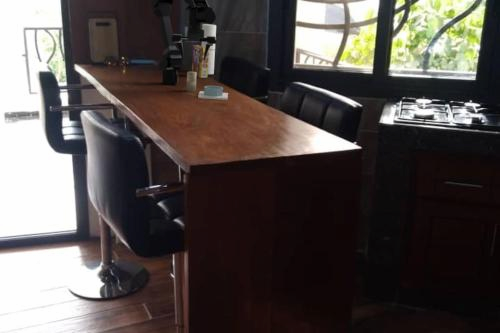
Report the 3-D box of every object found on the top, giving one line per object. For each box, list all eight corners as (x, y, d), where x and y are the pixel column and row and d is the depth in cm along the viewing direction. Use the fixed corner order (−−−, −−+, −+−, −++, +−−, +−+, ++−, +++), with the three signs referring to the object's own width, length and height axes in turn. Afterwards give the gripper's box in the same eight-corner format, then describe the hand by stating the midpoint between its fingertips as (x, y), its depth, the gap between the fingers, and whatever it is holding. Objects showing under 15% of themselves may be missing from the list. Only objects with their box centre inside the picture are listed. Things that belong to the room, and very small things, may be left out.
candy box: (208, 78, 279) (209, 47, 274) (201, 78, 276) (202, 47, 272) (198, 75, 285) (199, 45, 281) (191, 75, 283) (192, 45, 278)
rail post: (186, 91, 239) (186, 72, 236) (186, 89, 243) (187, 71, 240) (195, 91, 239) (196, 73, 237) (196, 90, 243) (196, 72, 240)
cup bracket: (197, 98, 226) (198, 88, 224) (199, 92, 237) (200, 84, 236) (227, 100, 226) (227, 90, 225) (227, 94, 238) (228, 86, 236)
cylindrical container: (211, 74, 290) (214, 25, 283) (198, 73, 292) (200, 24, 284) (215, 73, 297) (217, 25, 290) (202, 71, 298) (204, 24, 291)
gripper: (170, 21, 225) (170, 60, 230) (216, 24, 227) (215, 62, 231) (173, 20, 236) (172, 57, 240) (216, 23, 237) (215, 60, 242)
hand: (193, 59), depth 238 cm, fingers open, 9 cm apart
